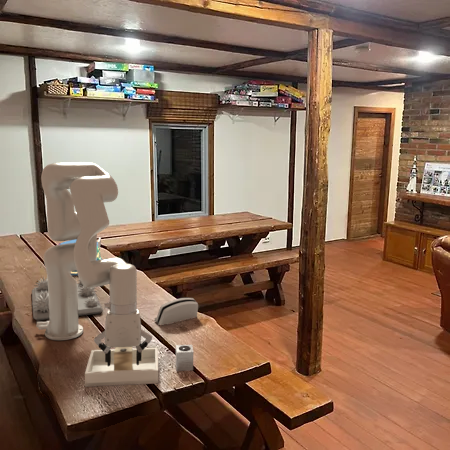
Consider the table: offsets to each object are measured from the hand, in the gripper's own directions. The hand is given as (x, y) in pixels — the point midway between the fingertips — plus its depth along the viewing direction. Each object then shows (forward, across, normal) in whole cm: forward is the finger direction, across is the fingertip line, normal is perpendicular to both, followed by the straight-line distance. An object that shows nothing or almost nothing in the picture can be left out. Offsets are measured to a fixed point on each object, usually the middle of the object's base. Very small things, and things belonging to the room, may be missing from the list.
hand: (123, 363), depth 133 cm
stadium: (+3, -30, +115) cm, 118 cm away
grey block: (+3, +18, +2) cm, 18 cm away
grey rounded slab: (+3, +18, +38) cm, 42 cm away
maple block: (+2, 0, 0) cm, 2 cm away
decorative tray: (+4, -27, +59) cm, 65 cm away
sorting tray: (+3, 0, 0) cm, 3 cm away
